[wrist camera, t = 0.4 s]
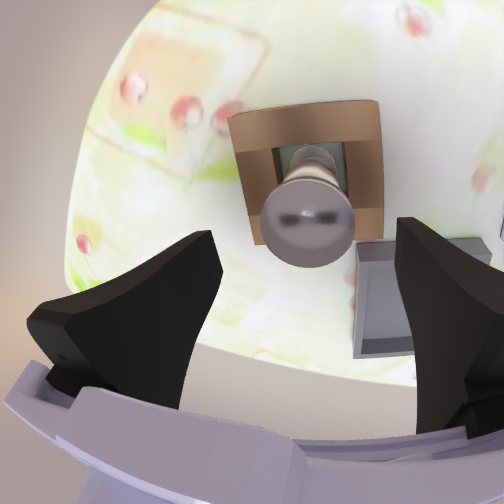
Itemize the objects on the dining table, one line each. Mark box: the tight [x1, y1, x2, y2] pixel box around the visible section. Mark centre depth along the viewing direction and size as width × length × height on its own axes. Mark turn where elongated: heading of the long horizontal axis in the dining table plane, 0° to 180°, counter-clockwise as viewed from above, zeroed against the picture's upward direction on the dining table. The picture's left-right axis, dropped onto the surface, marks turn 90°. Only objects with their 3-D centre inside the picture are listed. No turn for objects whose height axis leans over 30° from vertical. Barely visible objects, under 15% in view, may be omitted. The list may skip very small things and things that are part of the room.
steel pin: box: [260, 145, 355, 268], centre depth 15 cm, size 4×4×9 cm
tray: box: [353, 238, 492, 359], centre depth 22 cm, size 11×11×2 cm
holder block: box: [227, 100, 384, 245], centre depth 18 cm, size 9×9×2 cm
